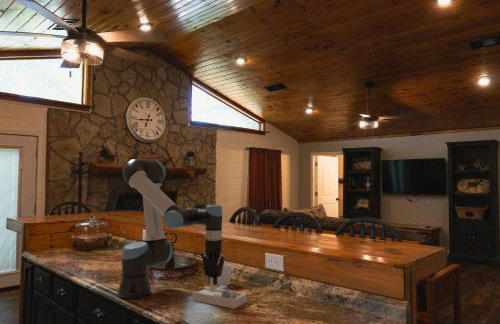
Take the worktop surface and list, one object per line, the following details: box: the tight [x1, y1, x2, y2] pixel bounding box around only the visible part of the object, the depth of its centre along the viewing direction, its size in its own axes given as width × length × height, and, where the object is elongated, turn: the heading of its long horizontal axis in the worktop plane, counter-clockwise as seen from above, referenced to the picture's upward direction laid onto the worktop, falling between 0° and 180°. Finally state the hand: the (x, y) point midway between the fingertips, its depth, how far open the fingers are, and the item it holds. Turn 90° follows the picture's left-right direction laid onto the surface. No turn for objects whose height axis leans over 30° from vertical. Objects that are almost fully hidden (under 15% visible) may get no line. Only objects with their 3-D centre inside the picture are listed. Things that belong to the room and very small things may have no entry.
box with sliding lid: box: [191, 286, 247, 309], centre depth 168 cm, size 22×10×4 cm, turn 60°
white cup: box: [216, 262, 232, 286], centre depth 195 cm, size 8×8×10 cm
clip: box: [221, 288, 237, 299], centre depth 165 cm, size 4×4×4 cm
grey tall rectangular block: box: [216, 285, 228, 290], centre depth 181 cm, size 4×8×2 cm, turn 150°
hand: (212, 291), depth 170 cm, fingers closed
